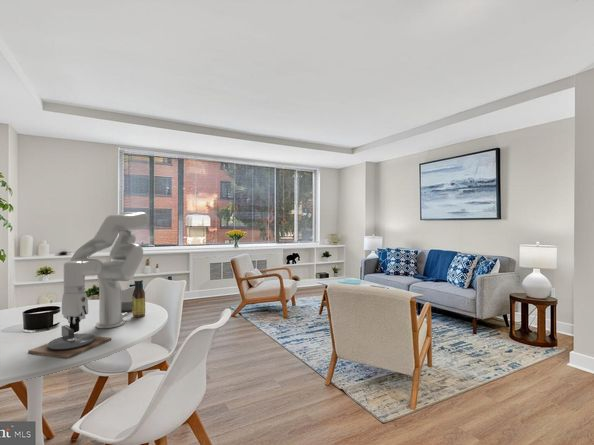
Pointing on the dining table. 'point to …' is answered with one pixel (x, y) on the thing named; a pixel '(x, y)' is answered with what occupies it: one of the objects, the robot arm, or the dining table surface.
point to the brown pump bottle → (138, 299)
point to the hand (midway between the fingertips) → (74, 331)
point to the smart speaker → (127, 299)
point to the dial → (70, 340)
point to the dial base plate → (68, 353)
